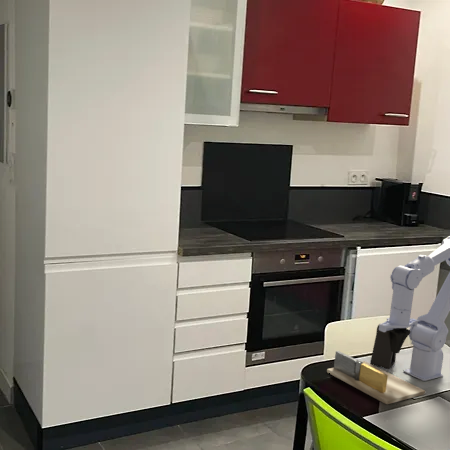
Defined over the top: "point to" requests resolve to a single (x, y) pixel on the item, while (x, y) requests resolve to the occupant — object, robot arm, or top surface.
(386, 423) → the top surface
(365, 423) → the top surface
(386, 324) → the robot arm
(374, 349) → the door stopper
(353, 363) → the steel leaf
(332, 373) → the maple board
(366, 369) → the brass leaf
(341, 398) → the top surface
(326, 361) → the top surface
